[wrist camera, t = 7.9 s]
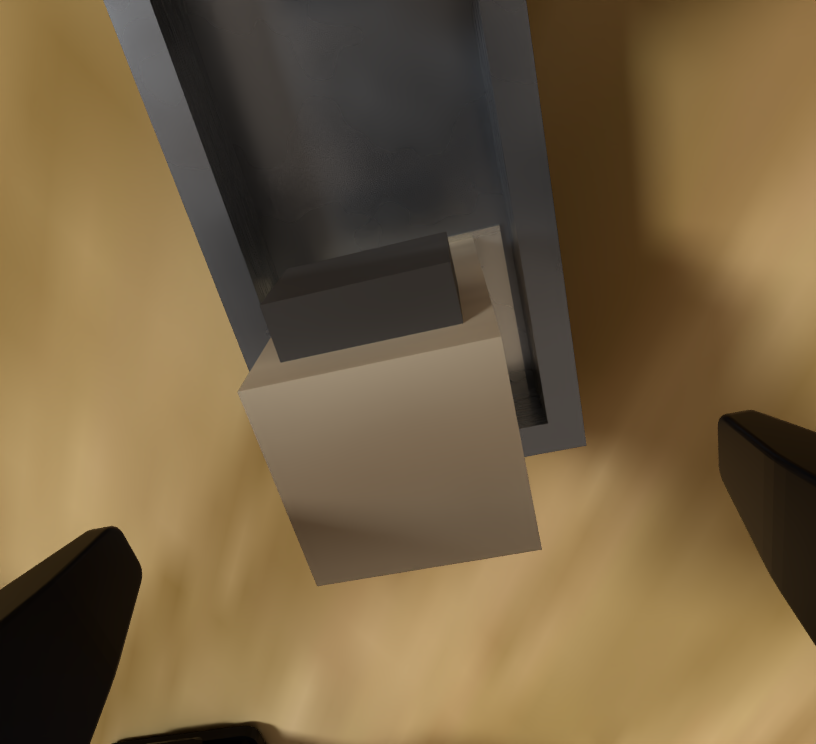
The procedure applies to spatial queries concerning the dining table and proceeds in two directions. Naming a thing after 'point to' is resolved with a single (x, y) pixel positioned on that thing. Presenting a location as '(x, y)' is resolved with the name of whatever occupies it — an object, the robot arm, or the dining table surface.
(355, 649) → the dining table surface
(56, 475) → the dining table surface
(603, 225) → the dining table surface
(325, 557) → the block
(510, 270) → the rail
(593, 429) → the dining table surface
